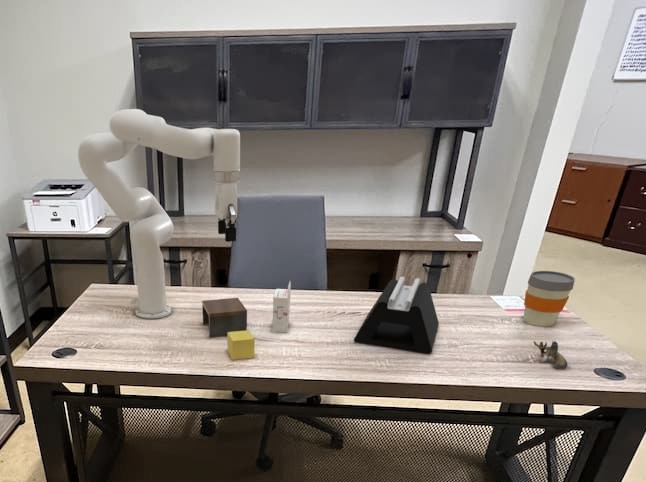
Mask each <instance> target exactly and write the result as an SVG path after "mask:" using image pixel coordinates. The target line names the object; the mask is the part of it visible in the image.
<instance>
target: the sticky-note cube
mask: <svg viewBox="0 0 646 482" xmlns="http://www.w3.org/2000/svg"><path fill="white" fill-rule="evenodd" d="M226 337H227V338H226V339H227V340H226V341H227V342H226V343H227V344H226V345H227V346H226V347H227V353H228V354H229V356H230V358H231V360H232V361H235V360H236V361H237V360H244V359H245V360H246V359H254V358H255V341H256V340H255V336H253V334H252V333H251V331H250V330H249V329H247V330H246V331H235V332H227V336H226Z"/></svg>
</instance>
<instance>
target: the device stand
mask: <svg viewBox="0 0 646 482" xmlns="http://www.w3.org/2000/svg"><path fill="white" fill-rule="evenodd" d="M405 280H406V278H405V276H400V277H399V279H395V278H392V279H391V280H390V281H388V283H387V284H386V286H385V287H384V289H383V291H382V292H381V294H380V295H379V296H378V298H377V300H376V301H375V303H374V305H373V306H372V308H371V309H370V310H369V312H368V313H367V315H366V317H365V319H364V320H363V322H362V324H361V326H360V328H359V330H358V331H357V333H356V335H355V336H354V338H353V342H355V344H356V343H357V344H363V345H370V346H376V347H383V348H388V349H393V350H400V351H408V352H413V353H418V354H425V355H426V354H427V355H431V354H432V353H433V349H434V345H435V341H436V338H437V334H438V328H439V324H440V323H439V319H438V315H437V311H436V307H435V304H434V300H433V297H432V293H431V288H430V285H429V284H428V283H427V282H421V283H420V281H421V279H420V278H419V277H417V278H414V281H413V283H412V285H405V284H404V283H405Z"/></svg>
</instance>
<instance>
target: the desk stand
mask: <svg viewBox="0 0 646 482" xmlns="http://www.w3.org/2000/svg"><path fill="white" fill-rule="evenodd" d="M201 306H202V307H201V309H202V312H201V314H202V325H208V337H209V338H210V339H211V338H220V337H227V332H235V331H246V330H248V309H247V308H246V307H245V306H244V304H243V303H242V301H241V300H240V298H239V297H229V298H228V297H227V298H219V299H218V298H217V299H207V300H206V299H205V300H202V301H201Z"/></svg>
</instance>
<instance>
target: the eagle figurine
mask: <svg viewBox="0 0 646 482" xmlns="http://www.w3.org/2000/svg"><path fill="white" fill-rule="evenodd" d="M533 345H534V346H535V347H537V348H538V350H539V351H540V355H541V357H543V358H542V360H541V363H544V362H547V360H548V359H549V358H553V360H554V365H555V368H557V369H559V370H565V369H566V368H568V362H567V360H566V358H565V357H564V356H563V355H562V354H561V353H560V352H558V351H559V343H558V342H557V341H556V340H554V339H552V340H551V345H550V346H548V342H547V341H545V343H544V341H540V342H539V344H538V342H536V341H535V340H534V341H533Z"/></svg>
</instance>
